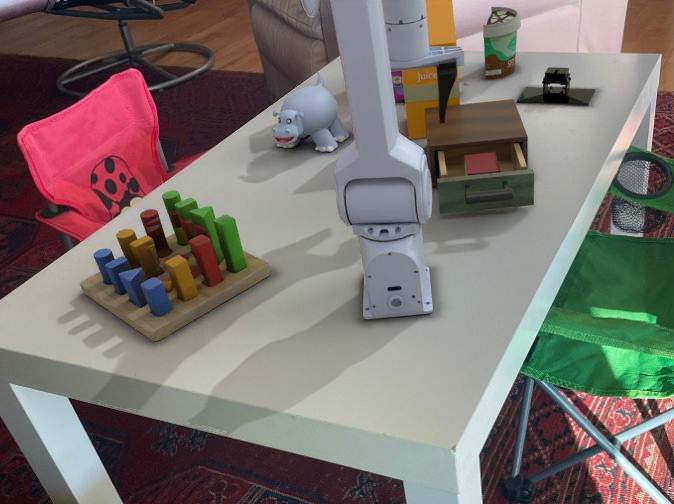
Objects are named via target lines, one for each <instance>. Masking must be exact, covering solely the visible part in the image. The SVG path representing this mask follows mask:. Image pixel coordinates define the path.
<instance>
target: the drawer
mask: <svg viewBox="0 0 674 504" xmlns="http://www.w3.org/2000/svg"><path fill="white" fill-rule="evenodd" d="M491 152H496V156H497V160H498V163H499V167H500V170H501V172H498V173H488V174H479V175H469V176H465V164H464V155H472V154H481V153H491ZM437 156H438V169H439V176H440V178H439V179H437V185H438V188H437V194H438V208H439V215H448V214H449V215H450V214H460V213H468V212H469V213H470V212H479V211H489V210H497V209H498V210H499V209H508V208H509V209H510V208H518V207H520V208H521V207H529V206H534V205H535V171H534V168H529V169H528V170H527V165H526V162H525V160H524V157H523V154H522V151H521V148H520V145H519V142H511V143H501V144H491V145H481V146H472V147H462V148H452V149H442V150H437Z"/></svg>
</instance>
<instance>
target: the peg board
mask: <svg viewBox="0 0 674 504" xmlns="http://www.w3.org/2000/svg"><path fill="white" fill-rule="evenodd" d="M161 198H162V201H163V204H164V207H165V209H166V213H167V215H168V218H169V221H170V224H171V227H172V230H173V232H174V233H172V234H170V235H169V236H167V237H166V233H165V230H164V227H163V224H162V220H161V217H160V214H159V210H157V209H156V208H155V209H154V208H149V209H146V210H143V211H142V212H141V213H140V214H139V217H140V218H139V219H140V220H141V223H142V226H143V228H144V231H145V235H144V236H141V237H140V238H138V236H137V235H136V234H137V233H136V232H135V231H134V229H133V228H124V229H120V230H119V231H118V232H116V234H115V237H116V239H117V242H118V244H119V247H120V250H121V251H122V254H123V256H122V255H121V256H119V257H116V258H115V256H114V254H113V251H112V249H111V248H108V247H106V248H100V249H97V250H96V251H94V252H93V258H94V261H95V264H96V266H97V268H98V270H99V271H98V272H97V273H95V274H92V275H90V276H89V277H87V278H85V279H83V280H81V281H80V282H79V286H80V288H81V291H82V293H83V294H84V295H86V296H87V297H88V298H90V299H91V300H93V301H94V302H95V303H97V304H99V305H100V306H101V307H103V308H104V309H105V310H107V311H108V312H110V313H111V314H113V315H114V316H115V317H117V318H119V319H120V320H121V321H122V322H124V323H125V324H127V325H129V326H130V327H131V328H133V329H134V330H135V331H137V332H139V334H141V335H143V337H146V338H147V339H148V340H150V341H151V342H158V341H161V340H164V339H165V338H167V337H168V336H170V335H171V334H173V333H175V332H176V331H179V330H180V329H181V328H183V327H185V326H186V325H188V324H190V323H191V322H193V321H195V320H197V319H199V318H200V317H202V316H204V315H205V314H207V313H209V312H210V311H212V310H213V309H215V308H218V306H221V305H222V304H224V303H225V302H228V301H229V300H230V299H233V298H234V297H235V296H238V295H239V294H240V293H242V292H244V291H246V290H248V289H249V288H251V287H253V286H254V285H257V284H258V283H259V282H261V281H263V280H264V279H267V278H268V277H269V276H271V268H270V264H269V262H267V261H266V260H263V259H261V258H259V257H257V256H255V255H253V254H251V253H250V252H247V251H245V250H244V248H243V245H242V240H241V237H240V233H239V229H238V225H237V221H236V218H235V217H233V216H232V215H228V214H227V213H226V214H223V215H220V216H218V217H216V214H215V211H214V207H213V206H212V205H208V206H203V207H199V205H198V201H197V200H196V198H193V197H187V198H185V199H182V197H181V195H180V192H179V191H178V190H174V189H173V190H168V191H166V192H163V194H162V195H161Z"/></svg>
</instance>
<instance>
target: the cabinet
mask: <svg viewBox="0 0 674 504" xmlns="http://www.w3.org/2000/svg"><path fill="white" fill-rule="evenodd" d="M424 111H425V123H426V134H427V137H426V144H427V154H428V162H429V171H430V175H431V183H432V189H436V188H437V189H438V185H437V179H439V178H440V176H439V169H438V156H437V150H442V149H452V148H462V147H472V146H481V145H491V144H501V143H511V142H519V145H520V148H521V151H522V154H523V157H524V160H525V162H526V165H527V170H528V167H529V166H528V164H529V163H528V161H529V160H528V159H529V154H528V153H529V136H528V133H527V131H526V128H525V125H524V123H523V120H522V118H521V114H520V111H519V109H518V107H517V104H516V102H515V99H514V98H509V99H499V100H490V101H481V102H472V103H463V104H462V103H460V105H451V106H447V108H446V115H445V123H441V124H440V120H439V110H438V107H432V108H424Z"/></svg>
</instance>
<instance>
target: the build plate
mask: <svg viewBox="0 0 674 504" xmlns="http://www.w3.org/2000/svg"><path fill="white" fill-rule="evenodd" d="M571 81H572V77H571V73H570V68H569V67H557V66H556V67H553V66H548V67H547V69H545V72H544V76H543V77H542V81H541V84H542V86H525V88H524V89H523V91H522V92H521V94H520V95H519V97H518V98H517V100H516V103H517V104H534V105H559V106H581V107H588V106H589V105H590V103H591V101H592V99H593V97H594V94H595V92H596V89H595V88H584V87H583V88H582V87H581V88H579V87H571ZM552 84H553V85H560V86H553V85H552Z"/></svg>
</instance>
